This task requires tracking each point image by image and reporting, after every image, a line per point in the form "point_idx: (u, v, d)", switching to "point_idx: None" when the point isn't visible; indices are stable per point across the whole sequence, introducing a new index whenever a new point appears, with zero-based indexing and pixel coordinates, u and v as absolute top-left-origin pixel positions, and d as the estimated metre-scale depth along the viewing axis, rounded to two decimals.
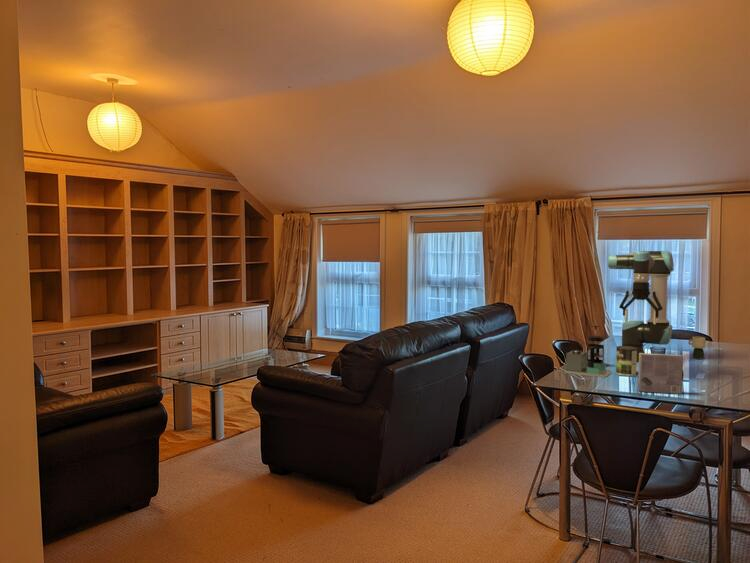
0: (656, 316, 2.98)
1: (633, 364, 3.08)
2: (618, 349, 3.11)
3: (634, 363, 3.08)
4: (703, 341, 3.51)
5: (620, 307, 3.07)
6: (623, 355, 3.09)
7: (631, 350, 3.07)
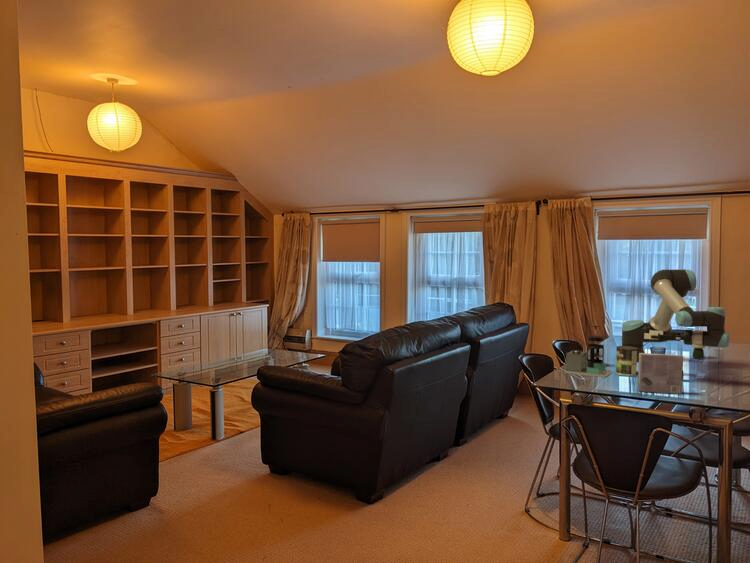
0: None
1: (633, 364, 3.08)
2: (618, 349, 3.11)
3: (634, 363, 3.08)
4: None
5: (659, 340, 2.94)
6: (623, 355, 3.09)
7: (631, 350, 3.07)
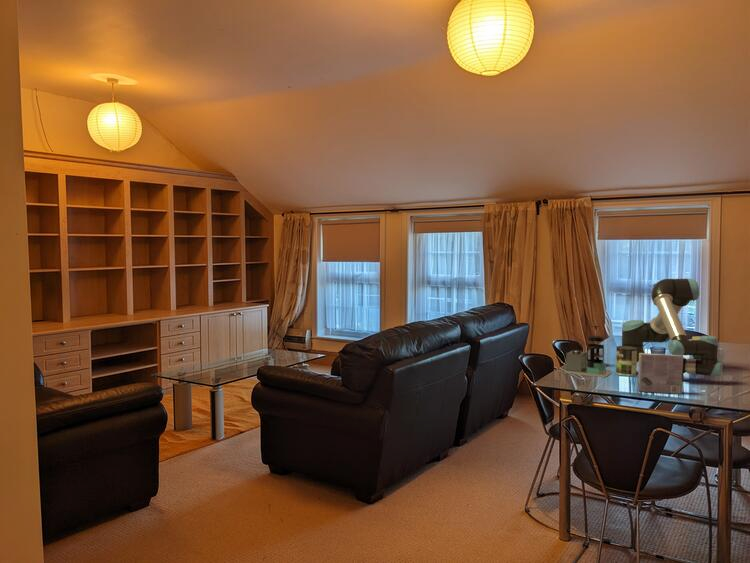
0: None
1: (633, 364, 3.08)
2: (618, 349, 3.11)
3: (634, 363, 3.08)
4: None
5: None
6: (623, 355, 3.09)
7: (631, 350, 3.07)
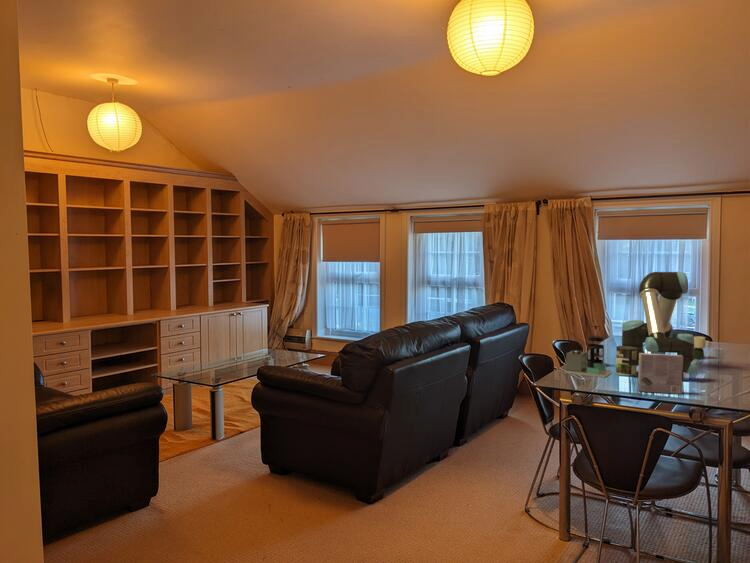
0: None
1: None
2: (618, 349, 3.11)
3: None
4: (703, 341, 3.51)
5: None
6: (623, 355, 3.09)
7: (631, 350, 3.07)
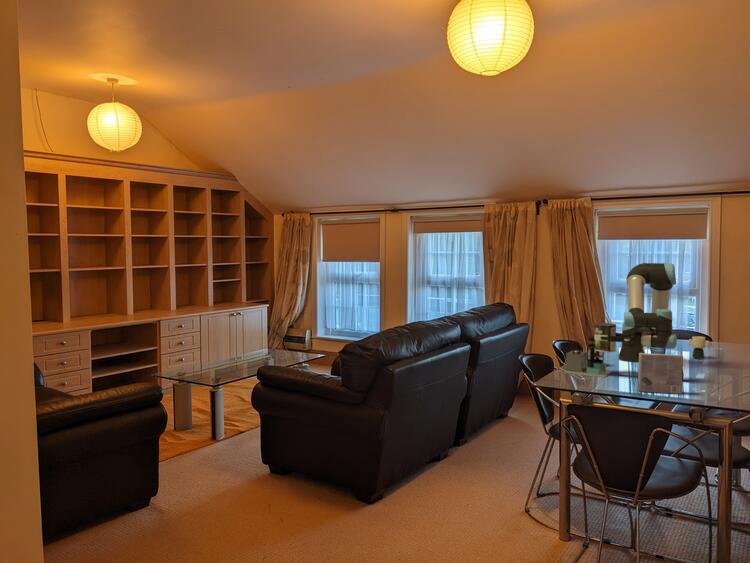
0: None
1: None
2: (597, 326, 3.09)
3: None
4: (703, 341, 3.51)
5: None
6: (602, 332, 3.07)
7: (610, 326, 3.05)
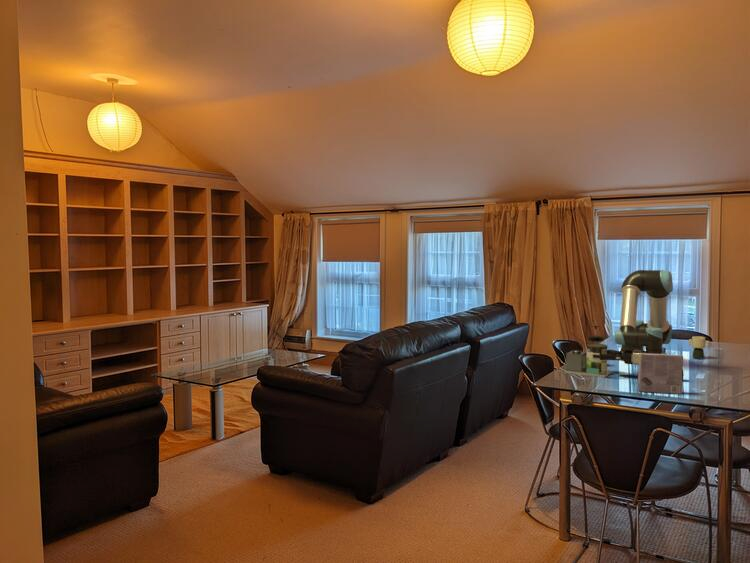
0: None
1: (603, 362, 3.08)
2: (588, 347, 3.11)
3: (604, 361, 3.08)
4: (703, 341, 3.51)
5: (600, 359, 3.02)
6: None
7: (601, 348, 3.07)
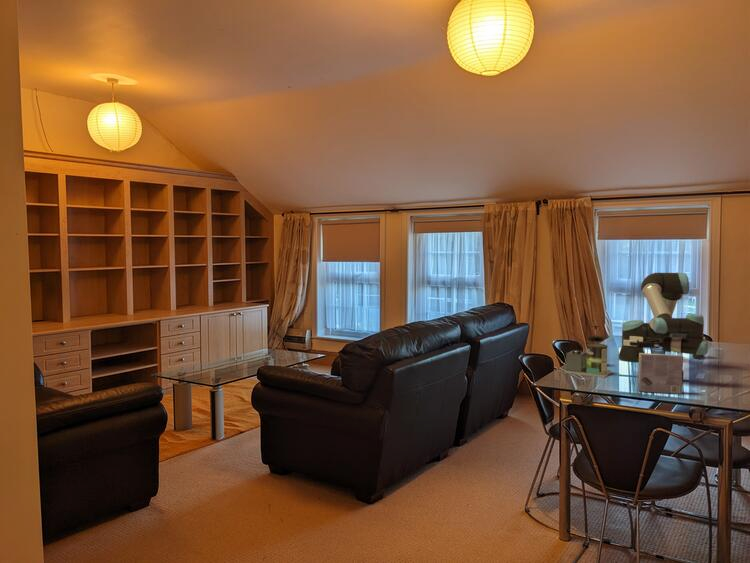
0: (637, 340, 3.09)
1: (603, 362, 3.08)
2: (588, 347, 3.11)
3: (604, 361, 3.08)
4: None
5: (638, 347, 2.93)
6: (593, 353, 3.08)
7: (601, 348, 3.07)
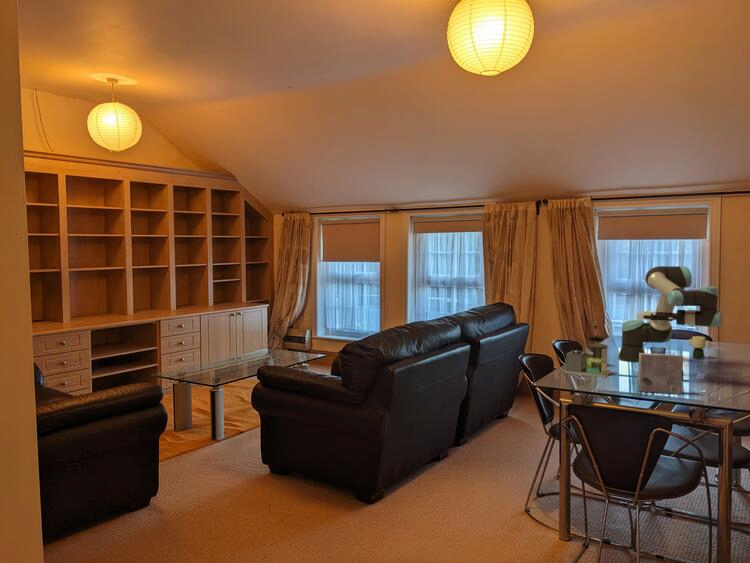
0: None
1: (603, 362, 3.08)
2: (588, 347, 3.11)
3: (604, 361, 3.08)
4: (703, 341, 3.51)
5: (652, 320, 2.92)
6: (593, 353, 3.08)
7: (601, 348, 3.07)
